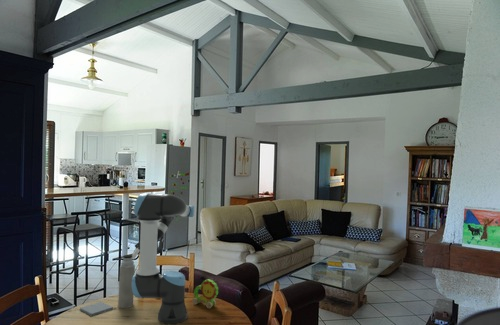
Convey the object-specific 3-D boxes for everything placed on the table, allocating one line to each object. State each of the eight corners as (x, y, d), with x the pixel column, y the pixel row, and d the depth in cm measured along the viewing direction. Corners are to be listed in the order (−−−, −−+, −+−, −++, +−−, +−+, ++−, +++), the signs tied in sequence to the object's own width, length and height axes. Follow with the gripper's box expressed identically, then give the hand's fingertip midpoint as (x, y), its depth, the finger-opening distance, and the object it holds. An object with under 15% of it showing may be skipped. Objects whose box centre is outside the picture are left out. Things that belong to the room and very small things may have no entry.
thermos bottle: (122, 302, 197) (124, 253, 198) (135, 303, 196) (137, 254, 197) (115, 307, 189) (117, 256, 190) (129, 308, 188) (131, 257, 189)
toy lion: (191, 304, 197) (192, 277, 197) (197, 301, 202) (198, 275, 202) (214, 310, 189) (215, 282, 190) (219, 307, 194) (220, 280, 194)
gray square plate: (112, 309, 186) (112, 307, 186) (91, 316, 176) (91, 313, 176) (100, 303, 193) (101, 301, 193) (79, 310, 183) (80, 307, 183)
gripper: (177, 236, 213) (159, 266, 199) (147, 232, 224) (128, 260, 210) (172, 229, 208) (153, 259, 195) (141, 225, 220) (122, 253, 206)
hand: (140, 259), depth 202 cm, fingers open, 13 cm apart
